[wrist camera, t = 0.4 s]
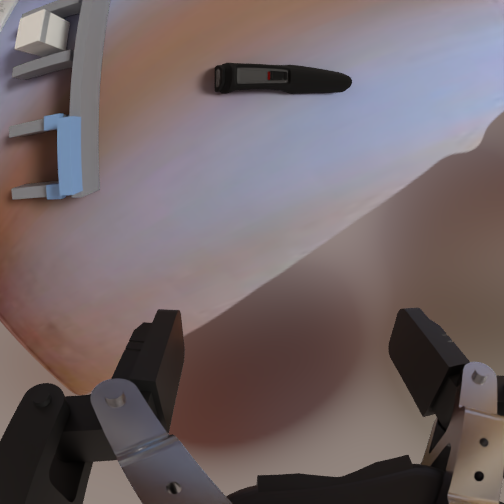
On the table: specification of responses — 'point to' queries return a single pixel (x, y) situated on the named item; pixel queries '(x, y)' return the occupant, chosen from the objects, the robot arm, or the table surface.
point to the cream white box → (42, 34)
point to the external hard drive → (6, 10)
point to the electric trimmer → (278, 78)
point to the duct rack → (71, 103)
